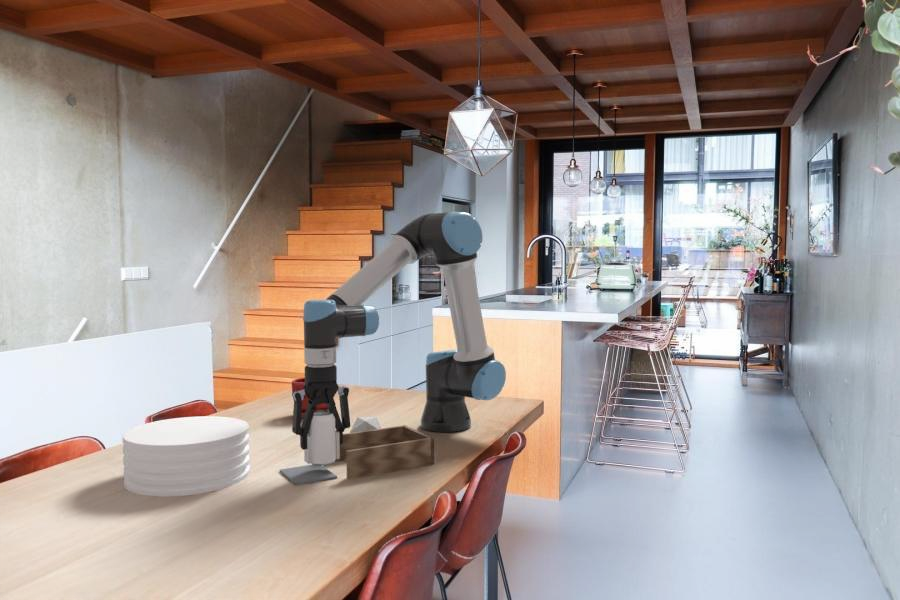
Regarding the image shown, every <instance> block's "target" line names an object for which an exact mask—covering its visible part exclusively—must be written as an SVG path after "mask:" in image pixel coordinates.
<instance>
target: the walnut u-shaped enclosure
mask: <svg viewBox="0 0 900 600" xmlns="http://www.w3.org/2000/svg"><path fill="white" fill-rule="evenodd" d="M340 461H341V462H342V461H346V479H347V480H351V478H352V479H356V478H362V477H368V476H373V475H374V476H375V475H379V474H384V473H391V472H395V471H402V470H408V469H413V468H418V467H419V468H420V467H423V466H431V465H434V464H435V437H432V436H430V435H428V434H425V433H423V432H421V431H419V430H416V429H414V428H412V427H410V426H407V425H405V424H404V425H398V426H391V427H381V429H375V430H368V431H361V432H353V433H350V432H348V433H343V443H342V444H340V459H336V460H335V461H334V462H333V463H336V462H340Z"/></svg>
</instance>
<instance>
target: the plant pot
mask: <svg viewBox="0 0 900 600" xmlns="http://www.w3.org/2000/svg"><path fill="white" fill-rule="evenodd" d="M304 386H305V377H300V378H296V379H292V380H291V393H293V392H294V391H295V392H298V391H301V390H303V388H304ZM307 402H308V397H307V396H306V395H304V398H303V400H302V416H301V418H302V419H303V418H304V415H305V412H306V408H307ZM316 410H329V409H328V406H327V405H326V404H325V403H322V404H318V405H317V408H316V409H315V411H316Z"/></svg>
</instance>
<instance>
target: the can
mask: <svg viewBox="0 0 900 600" xmlns="http://www.w3.org/2000/svg"><path fill="white" fill-rule="evenodd" d="M335 430H336V428H335V417H334V415H333V413H331V412H330V411H329V410H316V411H315V412H314V415H313V418H312V421H311V425H310V428H309V432H308V435H310V436H311V463H310V465H312V464H313V465H322V466H327V465H331V464H334V463H335V462H336V461H335V460H336V434H335ZM334 461H335V462H334Z"/></svg>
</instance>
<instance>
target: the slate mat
mask: <svg viewBox="0 0 900 600" xmlns="http://www.w3.org/2000/svg"><path fill="white" fill-rule="evenodd" d="M279 473H280V474H282V475H283V476H284V477H285V478H286V479H288V481H290V482H291V483H292V484H293V485H295V486H299V485H300V486H301V485H305V484H310V483H311V484H312V483H317V482H318V483H319V482H322V481H328V480H334V479H338V476H337V474H335V473H333V472H332V471H331V470H329V469H328V468H326V467H325V466H324V465H313V464H307V465H302V466H301V465H300V466H296V467H288V468H282V469H279Z"/></svg>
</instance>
